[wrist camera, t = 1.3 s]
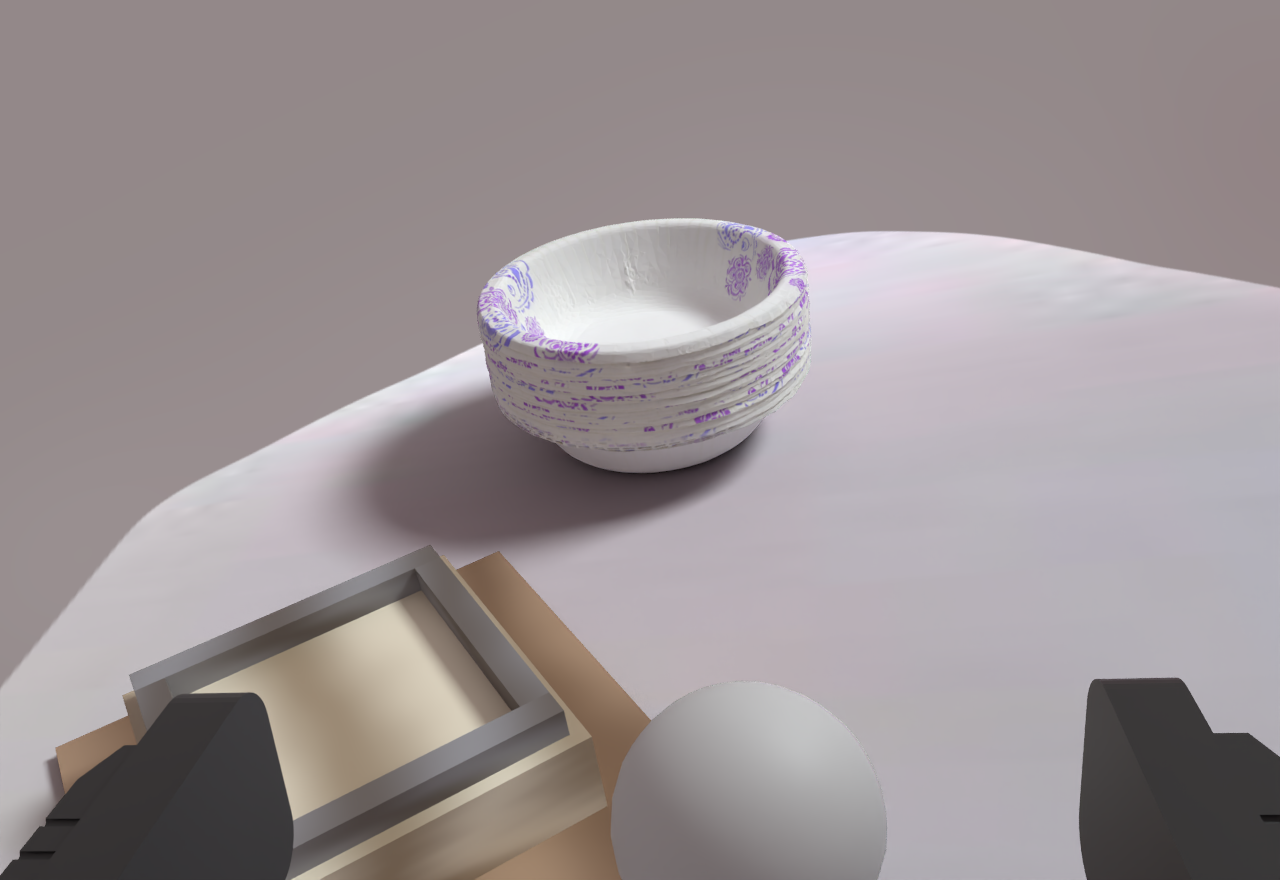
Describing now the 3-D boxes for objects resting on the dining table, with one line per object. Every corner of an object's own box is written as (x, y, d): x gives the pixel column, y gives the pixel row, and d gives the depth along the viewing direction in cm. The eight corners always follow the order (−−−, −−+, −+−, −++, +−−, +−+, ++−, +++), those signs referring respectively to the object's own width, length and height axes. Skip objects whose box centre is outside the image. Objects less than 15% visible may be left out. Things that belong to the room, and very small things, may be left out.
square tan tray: (500, 558, 51) (478, 471, 48) (741, 828, 37) (726, 723, 34) (59, 755, 44) (10, 665, 42) (148, 1178, 30) (81, 1076, 28)
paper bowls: (885, 404, 57) (877, 249, 53) (643, 555, 49) (613, 387, 45) (674, 325, 68) (655, 191, 64) (449, 440, 60) (411, 296, 56)
